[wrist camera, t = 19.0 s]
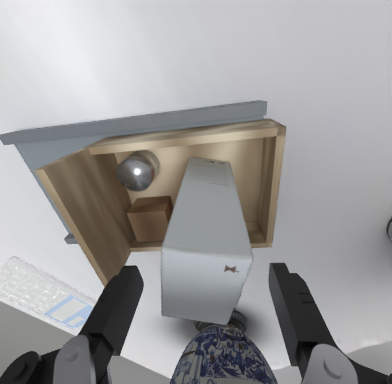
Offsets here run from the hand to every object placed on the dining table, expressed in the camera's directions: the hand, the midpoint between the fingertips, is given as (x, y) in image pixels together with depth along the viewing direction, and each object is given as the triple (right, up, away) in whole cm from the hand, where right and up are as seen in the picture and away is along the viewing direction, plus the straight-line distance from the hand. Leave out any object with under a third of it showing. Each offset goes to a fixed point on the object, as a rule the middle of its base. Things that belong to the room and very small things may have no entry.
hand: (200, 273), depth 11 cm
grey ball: (-6, +8, +8) cm, 13 cm away
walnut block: (-5, +3, +11) cm, 12 cm away
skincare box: (+1, +6, +9) cm, 11 cm away
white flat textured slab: (-30, -16, +26) cm, 43 cm away
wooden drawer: (-1, +6, +9) cm, 11 cm away
